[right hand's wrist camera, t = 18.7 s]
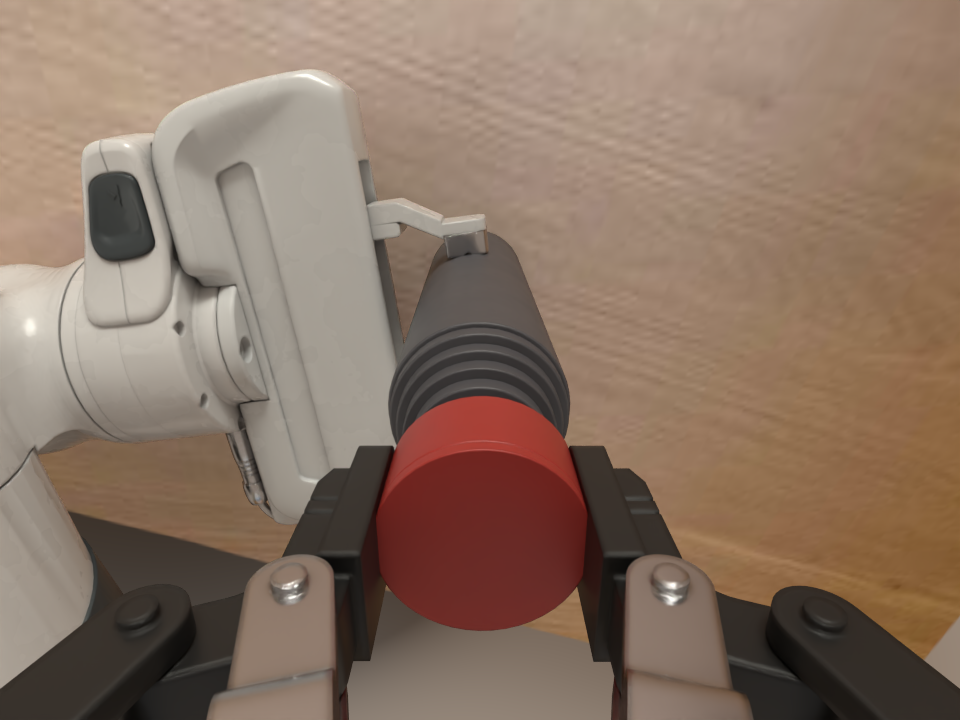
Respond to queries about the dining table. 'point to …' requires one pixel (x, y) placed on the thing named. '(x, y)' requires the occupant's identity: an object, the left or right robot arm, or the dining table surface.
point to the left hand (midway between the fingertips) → (495, 303)
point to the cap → (482, 516)
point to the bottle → (477, 341)
